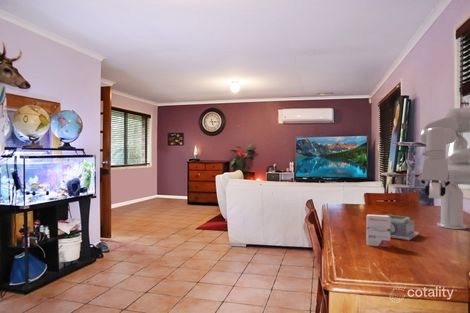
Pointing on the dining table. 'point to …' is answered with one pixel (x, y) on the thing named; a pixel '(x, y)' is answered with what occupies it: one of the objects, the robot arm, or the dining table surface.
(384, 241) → the ink box
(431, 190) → the white cylinder
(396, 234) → the motor
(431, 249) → the dining table surface
